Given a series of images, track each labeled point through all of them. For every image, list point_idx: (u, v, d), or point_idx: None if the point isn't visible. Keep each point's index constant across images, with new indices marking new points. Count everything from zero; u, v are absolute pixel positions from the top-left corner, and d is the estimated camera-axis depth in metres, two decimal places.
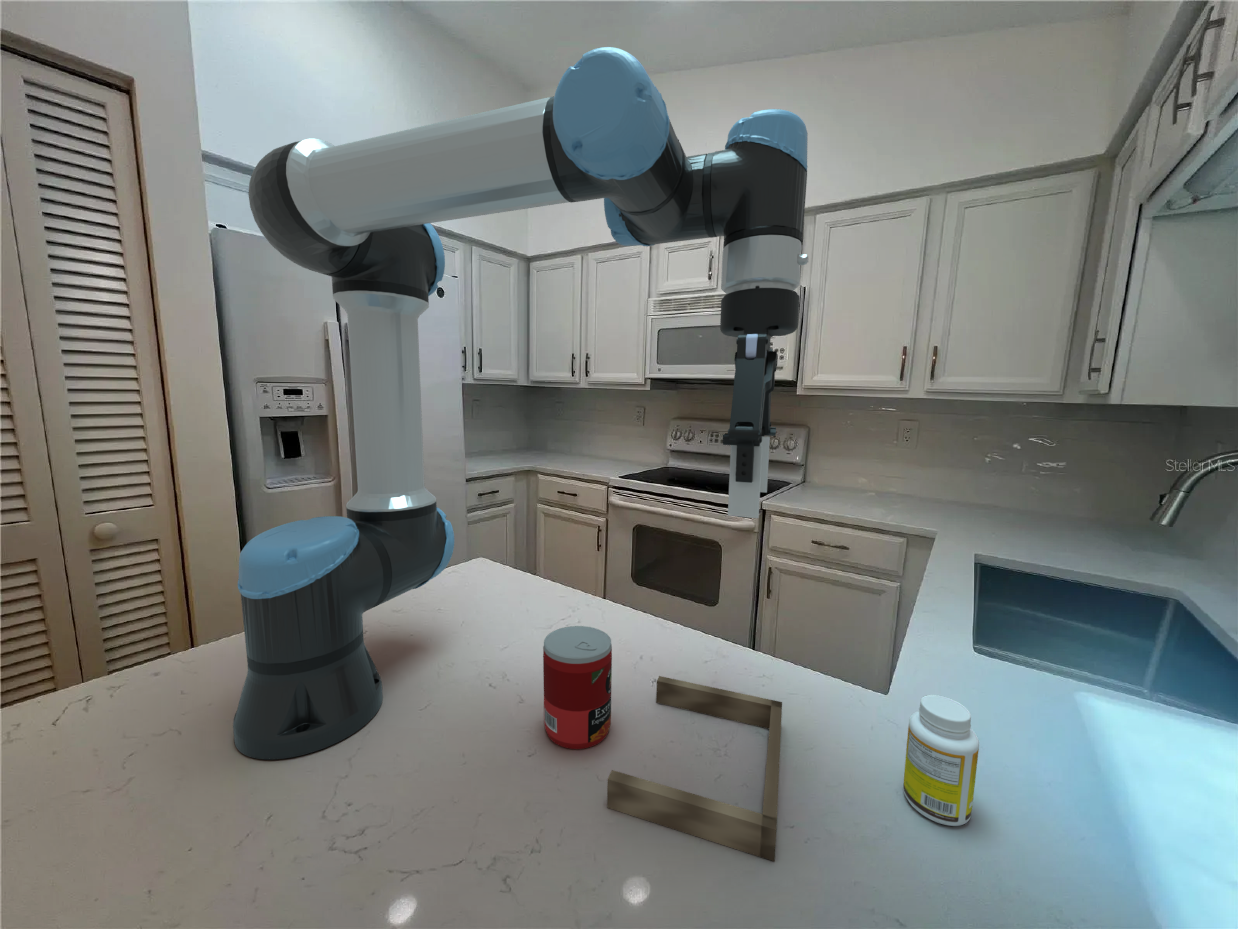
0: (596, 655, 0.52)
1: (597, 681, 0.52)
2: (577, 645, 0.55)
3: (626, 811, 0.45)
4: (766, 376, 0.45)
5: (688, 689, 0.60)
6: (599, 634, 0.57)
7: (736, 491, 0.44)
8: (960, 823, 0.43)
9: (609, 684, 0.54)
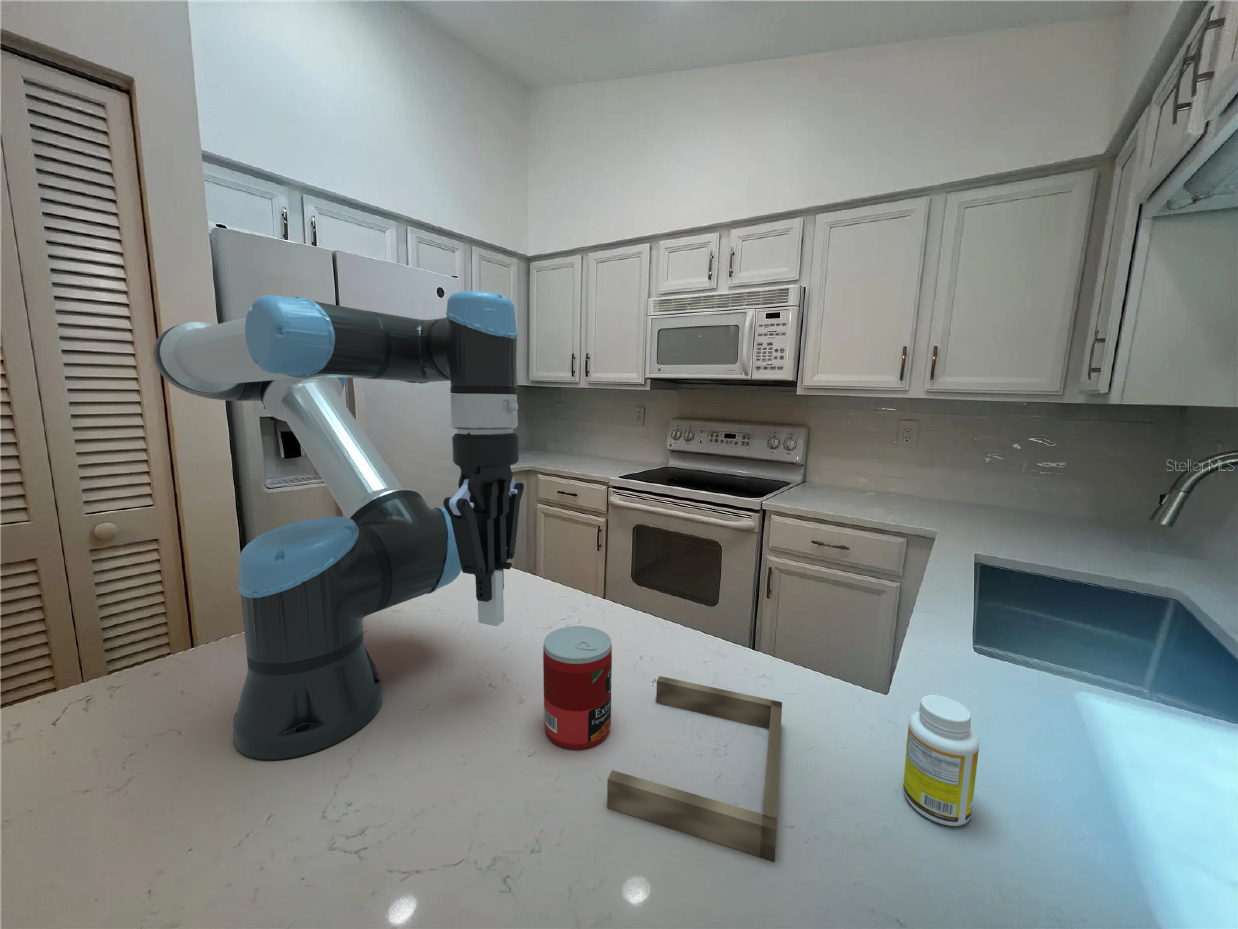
0: (596, 655, 0.52)
1: (597, 681, 0.52)
2: (577, 645, 0.55)
3: (626, 811, 0.45)
4: (487, 514, 0.55)
5: (688, 689, 0.60)
6: (599, 634, 0.57)
7: (482, 605, 0.58)
8: (960, 823, 0.43)
9: (609, 684, 0.54)
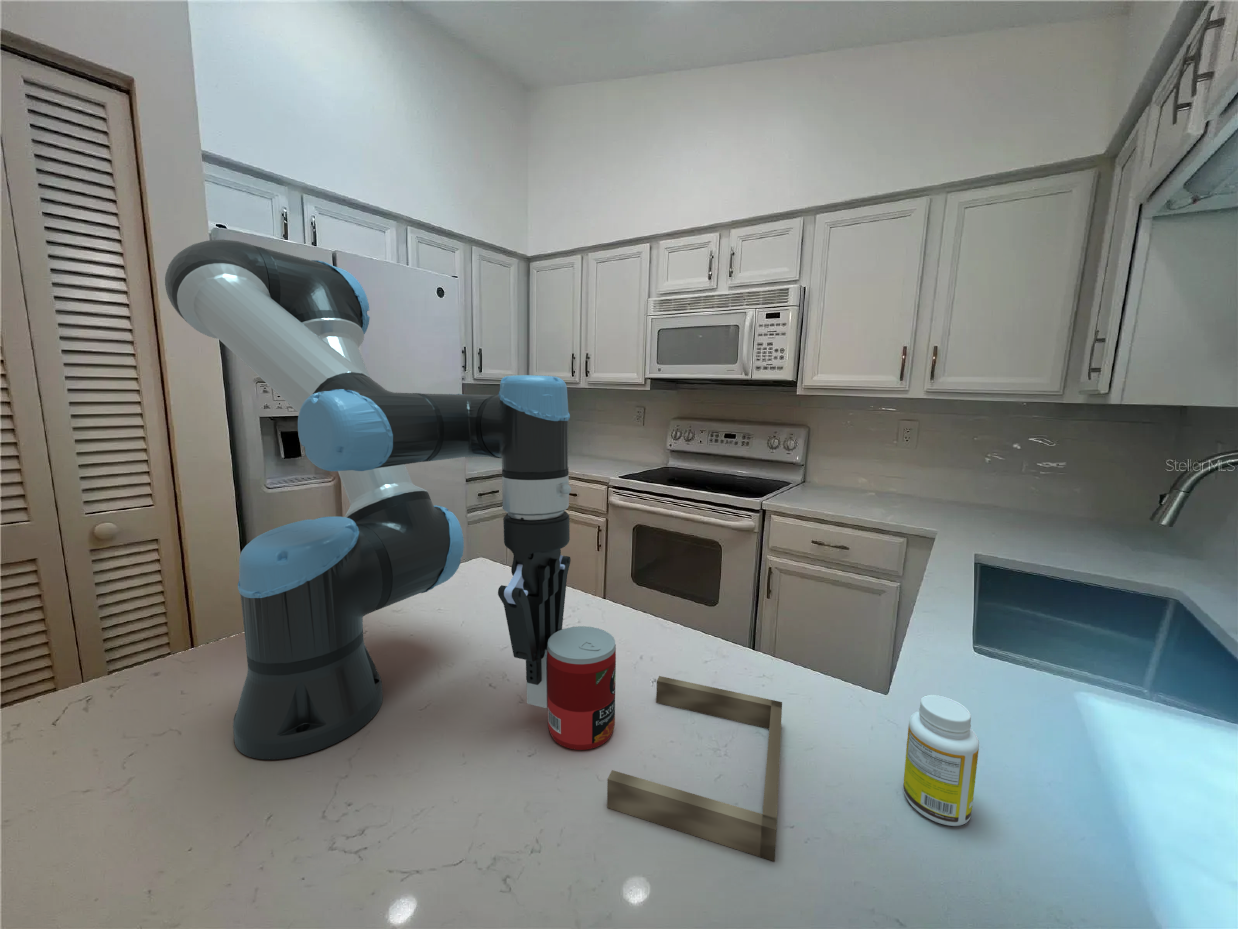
0: (600, 656, 0.52)
1: (601, 681, 0.52)
2: (581, 645, 0.54)
3: (626, 811, 0.45)
4: (539, 598, 0.54)
5: (688, 689, 0.60)
6: (603, 634, 0.57)
7: (531, 687, 0.57)
8: (960, 823, 0.43)
9: (613, 685, 0.54)
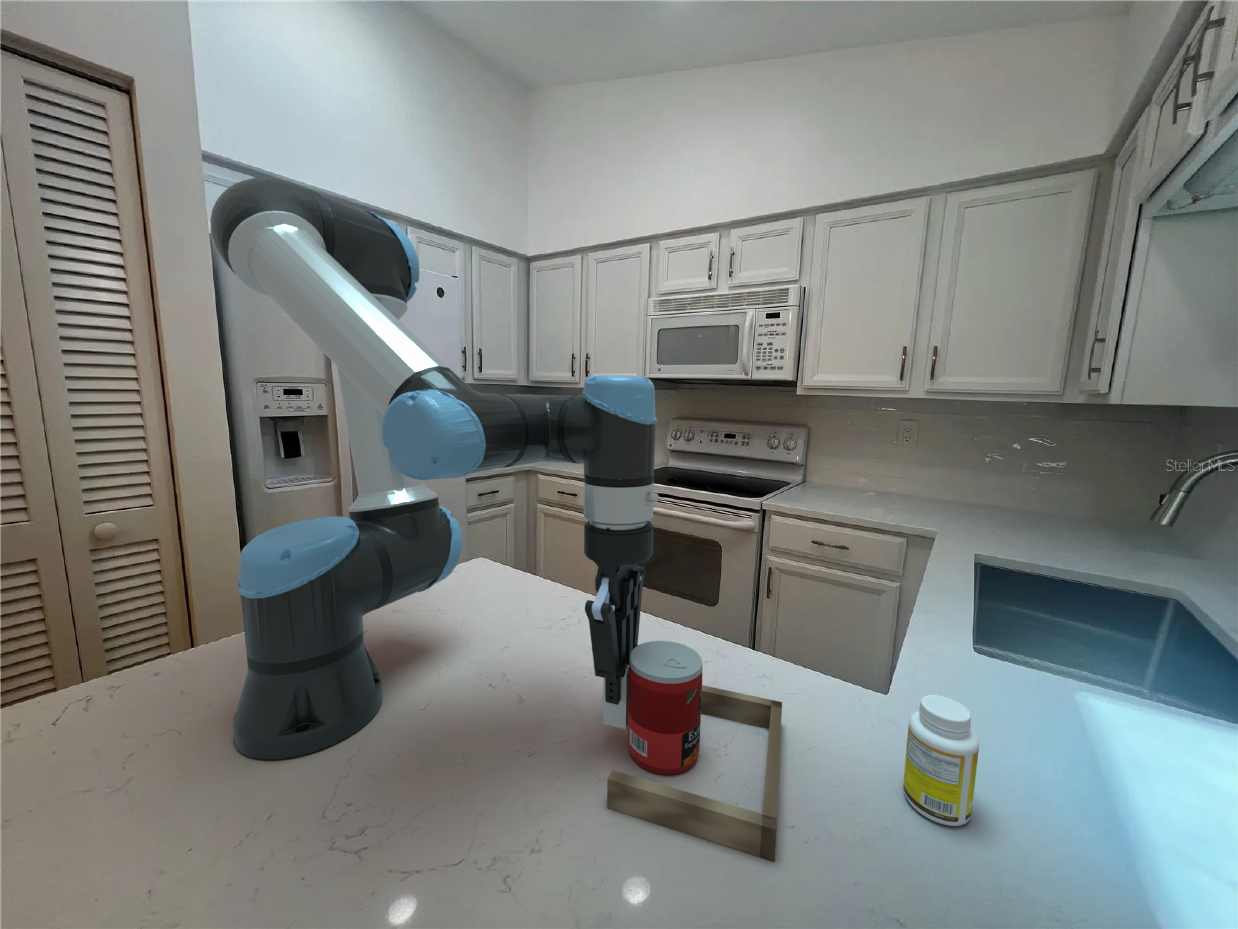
0: (691, 674, 0.49)
1: (691, 701, 0.49)
2: (666, 662, 0.51)
3: (626, 811, 0.45)
4: (622, 613, 0.51)
5: None
6: (685, 650, 0.54)
7: (609, 706, 0.54)
8: (960, 823, 0.43)
9: (700, 704, 0.51)
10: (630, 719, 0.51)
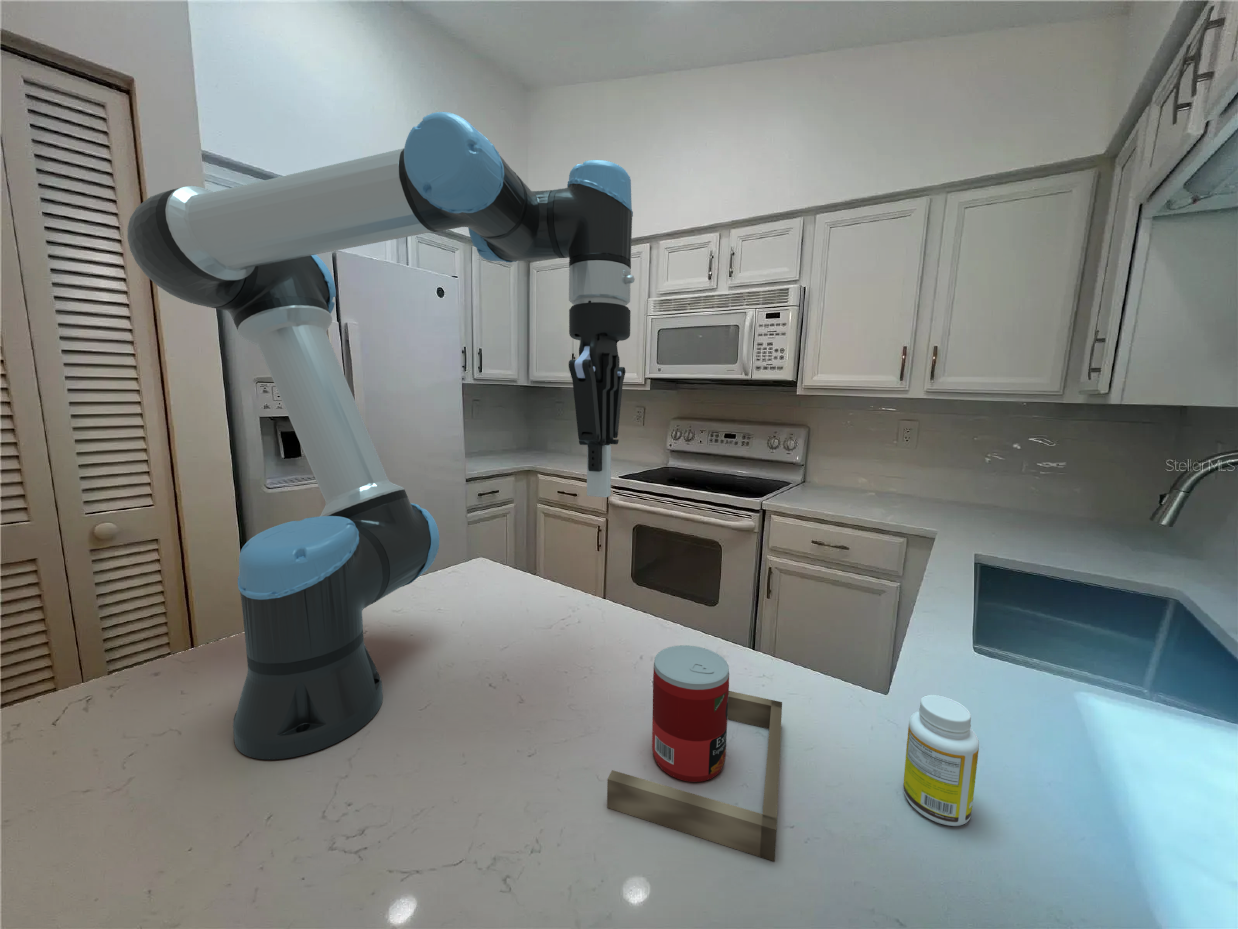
0: (719, 680, 0.48)
1: (719, 707, 0.48)
2: (692, 668, 0.50)
3: (626, 811, 0.45)
4: (603, 384, 0.57)
5: None
6: (710, 655, 0.53)
7: (591, 478, 0.61)
8: (960, 823, 0.43)
9: (727, 710, 0.50)
10: (655, 726, 0.50)
